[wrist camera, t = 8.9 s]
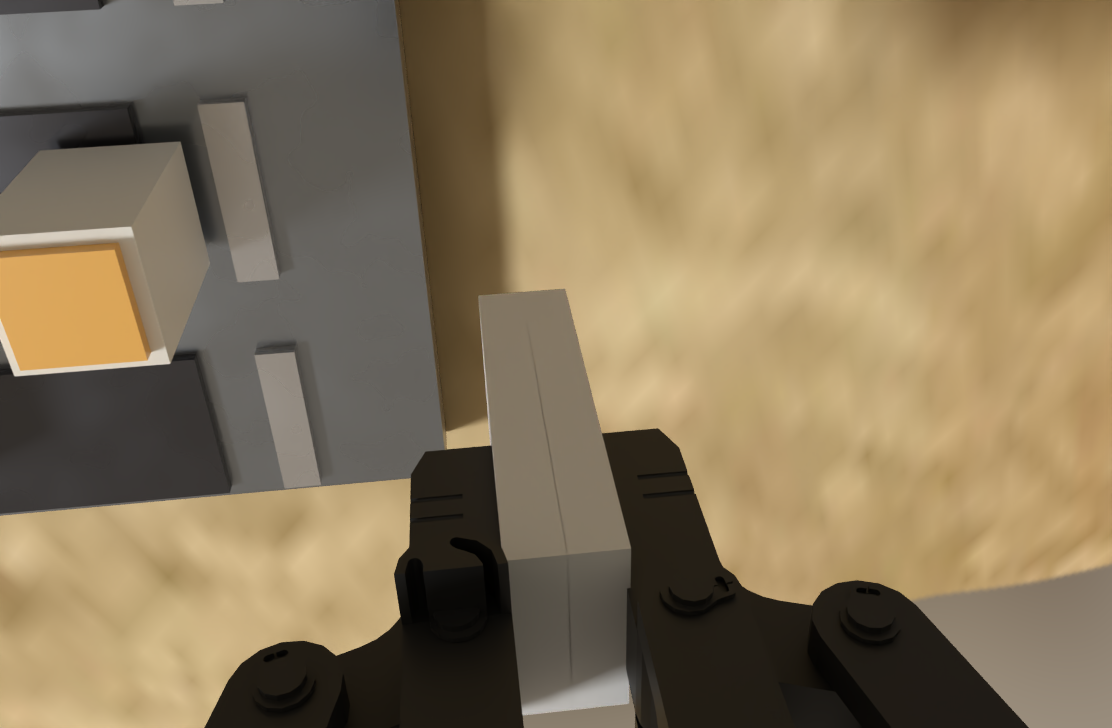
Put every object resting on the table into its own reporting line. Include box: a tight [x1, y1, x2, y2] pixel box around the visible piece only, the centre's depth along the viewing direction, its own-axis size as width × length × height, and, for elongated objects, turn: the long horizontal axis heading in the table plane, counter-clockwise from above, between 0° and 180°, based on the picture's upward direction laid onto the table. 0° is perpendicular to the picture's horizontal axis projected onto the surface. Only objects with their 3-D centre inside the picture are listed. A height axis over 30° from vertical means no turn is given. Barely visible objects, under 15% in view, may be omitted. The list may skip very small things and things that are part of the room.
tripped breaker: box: [0, 142, 210, 376], centre depth 21 cm, size 3×3×5 cm
